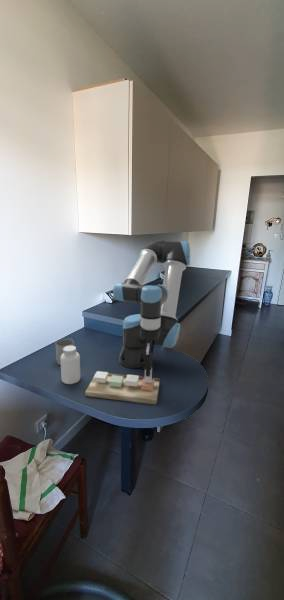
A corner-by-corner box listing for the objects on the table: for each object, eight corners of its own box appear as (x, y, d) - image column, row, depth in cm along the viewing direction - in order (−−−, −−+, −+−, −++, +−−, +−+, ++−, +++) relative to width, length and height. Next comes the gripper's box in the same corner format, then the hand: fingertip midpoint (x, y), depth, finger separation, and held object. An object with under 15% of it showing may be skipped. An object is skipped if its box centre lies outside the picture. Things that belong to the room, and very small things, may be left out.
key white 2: (127, 378, 114) (127, 374, 114) (138, 379, 114) (138, 375, 113) (124, 385, 110) (125, 380, 109) (136, 386, 109) (136, 382, 108)
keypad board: (96, 377, 122) (96, 371, 121) (159, 383, 118) (159, 378, 117) (85, 396, 108) (85, 390, 108) (156, 404, 105) (156, 398, 104)
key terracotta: (142, 382, 114) (142, 378, 113) (154, 384, 113) (154, 379, 112) (140, 389, 109) (141, 385, 109) (153, 390, 108) (153, 386, 108)
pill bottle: (63, 386, 114) (61, 353, 110) (60, 376, 121) (58, 345, 117) (82, 382, 117) (81, 350, 113) (78, 373, 124) (77, 342, 120)
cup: (61, 367, 129) (60, 347, 126) (53, 360, 135) (52, 341, 132) (77, 361, 134) (76, 342, 132) (69, 355, 140) (68, 337, 138)
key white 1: (97, 375, 116) (97, 371, 115) (108, 376, 115) (108, 372, 115) (93, 381, 111) (93, 377, 111) (105, 382, 111) (104, 378, 110)
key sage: (112, 379, 115) (112, 375, 115) (123, 380, 115) (123, 376, 114) (109, 385, 111) (109, 381, 110) (120, 387, 110) (120, 382, 110)
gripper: (142, 320, 111) (141, 372, 117) (137, 332, 98) (136, 390, 105) (161, 321, 110) (158, 374, 116) (158, 334, 97) (155, 392, 104)
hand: (147, 381), depth 110 cm, fingers closed
